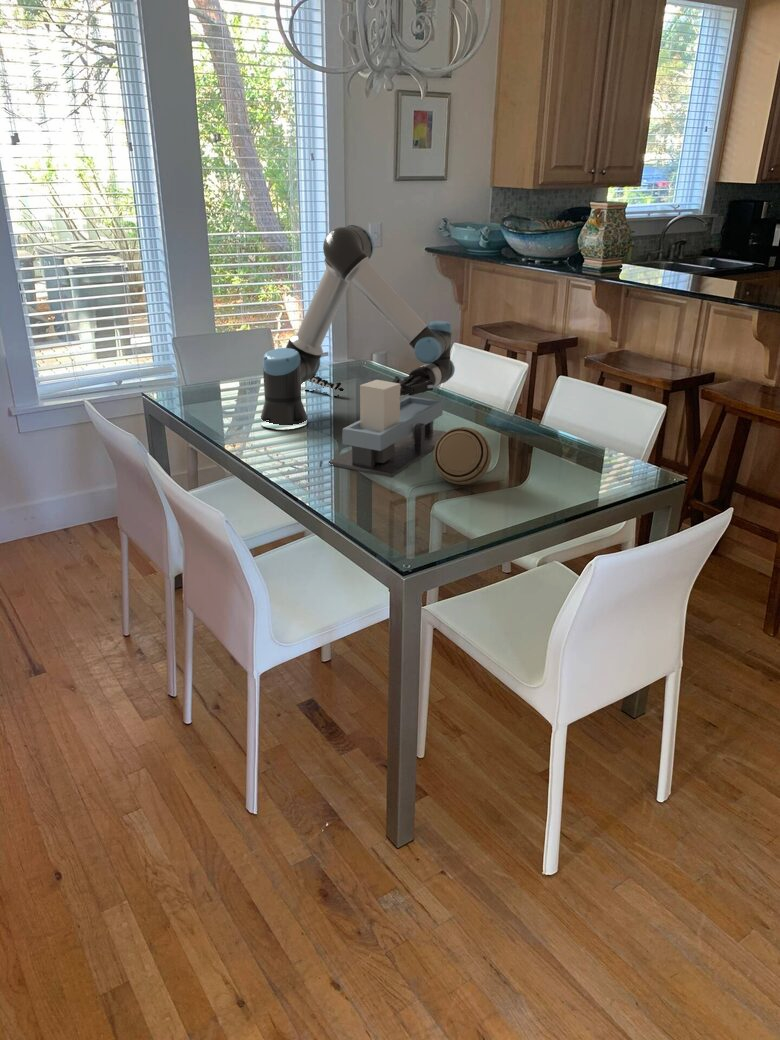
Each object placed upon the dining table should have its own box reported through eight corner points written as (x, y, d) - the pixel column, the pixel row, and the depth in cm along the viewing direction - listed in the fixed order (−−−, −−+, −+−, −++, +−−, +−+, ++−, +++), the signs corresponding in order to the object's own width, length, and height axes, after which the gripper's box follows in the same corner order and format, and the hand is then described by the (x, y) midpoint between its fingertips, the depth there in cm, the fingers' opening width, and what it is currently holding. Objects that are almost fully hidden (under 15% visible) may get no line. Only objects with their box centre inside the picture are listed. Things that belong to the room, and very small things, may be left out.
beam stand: (397, 426, 255) (398, 399, 251) (454, 436, 246) (455, 408, 243) (328, 464, 221) (327, 433, 217) (391, 477, 212) (392, 445, 208)
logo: (295, 387, 297) (299, 362, 292) (300, 386, 299) (303, 361, 294) (338, 409, 288) (342, 383, 282) (342, 407, 289) (346, 382, 284)
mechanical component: (423, 477, 212) (424, 423, 206) (471, 470, 218) (474, 417, 212) (449, 496, 200) (451, 439, 194) (499, 488, 206) (503, 433, 199)
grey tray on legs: (406, 424, 252) (406, 395, 248) (443, 430, 246) (444, 401, 242) (341, 460, 219) (340, 428, 216) (382, 468, 214) (382, 435, 210)
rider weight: (376, 420, 228) (376, 379, 223) (399, 425, 224) (400, 383, 219) (360, 427, 221) (360, 385, 217) (383, 432, 217) (384, 389, 213)
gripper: (443, 393, 241) (408, 411, 221) (405, 387, 246) (368, 405, 227) (444, 368, 237) (409, 385, 218) (405, 363, 243) (368, 379, 224)
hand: (388, 395), depth 223 cm, fingers closed
